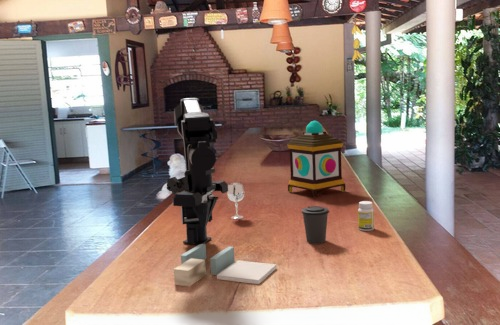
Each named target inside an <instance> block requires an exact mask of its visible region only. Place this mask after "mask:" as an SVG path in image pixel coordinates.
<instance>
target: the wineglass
mask: <svg viewBox="0 0 500 325" xmlns="http://www.w3.org/2000/svg"><path fill="white" fill-rule="evenodd" d="M244 197H245V190H244V186H243V183H242V182H231V183H228V192H227V198H228V199H229V200H230V201H231V202H234V206H235V211H236V212H235V215H233V216H231V218H230V219H231V220H232V219H233V220H241V219H244V216H243V215H239V213H238V207H239V204H238V202H240V201H242V200H243V199H244Z"/></svg>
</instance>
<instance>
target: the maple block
mask: <svg viewBox="0 0 500 325" xmlns="http://www.w3.org/2000/svg"><path fill="white" fill-rule="evenodd" d="M206 269H207V268H206V259H205V260H203V259H193V258H191V259H189V260H187V261H186V262H184V263H183V264H181V263H180V265H178V266H176V267H174V268H173V276H174V278H173V280H174V285H176V286H183V287H191V286H192V285H193V284H195V283H197V282H198V281H199V280H201V279H202V278H203V277H205V276H206V275H207V272H206V271H207V270H206Z"/></svg>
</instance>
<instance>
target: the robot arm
mask: <svg viewBox="0 0 500 325" xmlns="http://www.w3.org/2000/svg"><path fill="white" fill-rule="evenodd" d="M173 109H174V110H173V111H174V112H173V114H174V116H173V117H174V127H177V133H178V134H179V135H180V136H181V138H182V140H183V148H184V149H183V150H184V161H185V171H184V176H183V177H180V178H177V177H176V176H173V177H170V178H167V179H166V190H167V191H169V192H171V194H172V195H173V197H172V206H173V207H180V213H181V214H180V217H181V223H182V225H185V226H186V231H185V232H186V239H185V240H183V241H182V243H183V244H188V245H189V244H190V245H196V246H198V245H199V244H206V243H207V242H209V241H211V240H212V237H211V236H208V232H207V225H208V223H211V222H212V221H213V210H214V208H215V206H216V203H217V201H218V200H219V196H214V192H221V193H222V194H225V193H228V185H229V183H227V182H226V181H225V180H213V174H214V173H216V168H214V166H215V164H216V163H217V162H216V161H217V156H216V154H215V152H214V151H213V150H212V148H211V144H215V143H216V142H217V141H216V140H217V139H218V132H217V126H216V122H214V119H213V118H211V116H210V114H208V113H207V112H204V107H203V105H202V104H200V99H199V98H198V97H186V98H181V99H180V103H179V104H178V105H177V106H176V107H174V108H173Z"/></svg>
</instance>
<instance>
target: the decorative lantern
mask: <svg viewBox="0 0 500 325" xmlns="http://www.w3.org/2000/svg"><path fill="white" fill-rule="evenodd" d="M286 145H287V148H288V150H289V163H290V164H289V165H290V179H289V181H288V184H287V191H288V192H289V193H292V192H293V188H297V189H303V190H306V191H311V193H312V197H313V198H314V199H316V198H317V195H318V194H317V193H318V192H319V191H323V190H328V189H333V188H337V187H340V190H341V193H344V192H346V182H345V180H344V179H343V177H342V176H343V175H342V173H343V172H342V148H343V146H344V141H342V140H341V139H339V137H333V136H332V135H330V134H329V133H327V131H324V128H323V125H322V124H321V123H320V122H319V121H318V120H312V121H310V122H309V123H308V124H307V125H306V128H305V132H302V133H301V134H300V135H299V136H298V137H297V138H292V139H291V140H290V141H288V143H286Z"/></svg>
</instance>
